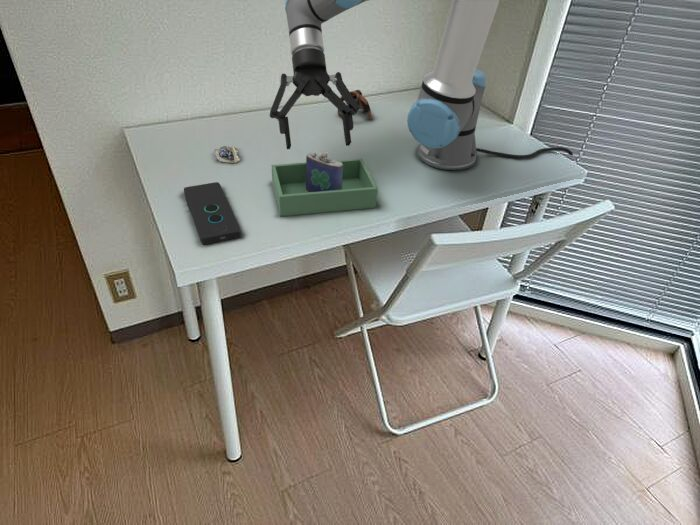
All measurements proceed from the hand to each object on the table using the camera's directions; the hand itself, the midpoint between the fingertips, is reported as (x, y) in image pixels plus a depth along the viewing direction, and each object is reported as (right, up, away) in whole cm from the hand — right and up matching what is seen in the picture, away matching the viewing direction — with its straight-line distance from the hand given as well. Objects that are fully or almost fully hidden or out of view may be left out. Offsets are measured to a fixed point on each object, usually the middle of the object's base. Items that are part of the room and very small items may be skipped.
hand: (319, 145), depth 115 cm
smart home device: (-23, -16, -5) cm, 28 cm away
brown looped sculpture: (+8, +17, +38) cm, 42 cm away
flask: (+1, -11, +3) cm, 11 cm away
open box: (+1, -11, +3) cm, 11 cm away
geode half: (-24, 0, +15) cm, 28 cm away
